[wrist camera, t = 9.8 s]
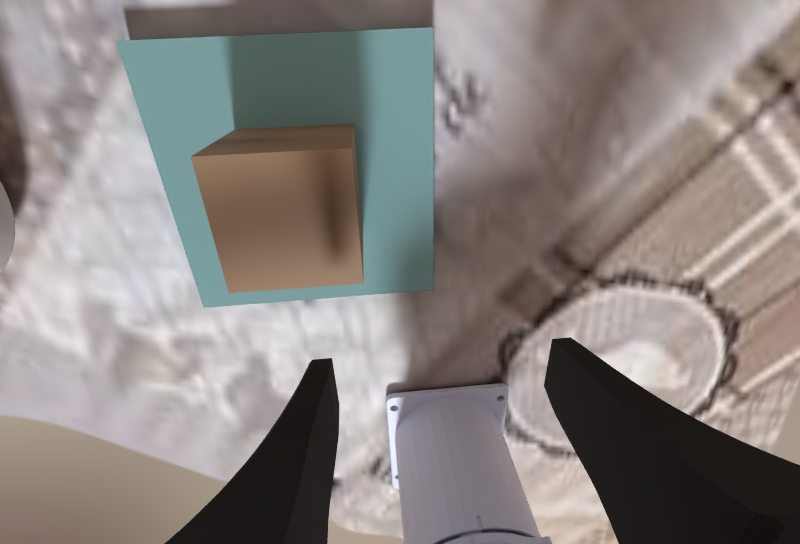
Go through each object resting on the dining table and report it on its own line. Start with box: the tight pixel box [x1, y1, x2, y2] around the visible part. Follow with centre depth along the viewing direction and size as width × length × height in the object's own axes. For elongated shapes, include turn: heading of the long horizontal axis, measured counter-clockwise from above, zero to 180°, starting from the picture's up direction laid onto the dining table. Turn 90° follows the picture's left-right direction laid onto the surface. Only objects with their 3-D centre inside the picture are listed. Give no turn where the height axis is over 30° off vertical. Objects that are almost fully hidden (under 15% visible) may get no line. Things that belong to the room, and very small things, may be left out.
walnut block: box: [191, 124, 364, 293], centre depth 16 cm, size 5×5×5 cm
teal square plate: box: [116, 27, 434, 308], centre depth 19 cm, size 12×12×1 cm
